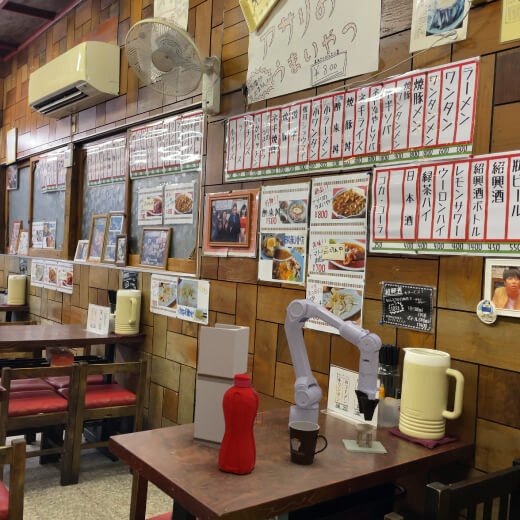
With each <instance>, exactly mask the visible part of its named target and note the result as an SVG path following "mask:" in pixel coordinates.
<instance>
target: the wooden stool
mask: <svg viewBox="0 0 520 520" xmlns="http://www.w3.org/2000/svg"><path fill="white" fill-rule="evenodd" d="M374 429H375V427H374V426H373V425H372V424H369V423H357V424H356V429H355V430H356V440H357V442H356V443H357V444H359V447H362V441H363V434H364V435H366V436H365V438H366V439H365V441H366V444H368V447H369V448H371V447H372V441H373V434H374Z"/></svg>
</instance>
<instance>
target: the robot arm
mask: <svg viewBox="0 0 520 520" xmlns="http://www.w3.org/2000/svg"><path fill="white" fill-rule="evenodd" d="M285 310H286V317H285V319H284V320H285V321H284V326H283V327H284V332H285V337H286V340H287V344H288V349H289V354H290V357H291V358H290V359H291V361H292V366H293V371H294V375H295V382H294V385H293V388H294V395H293V400H294V403H295V405H290V407H289V418H288V424H287V425H288V426H287V428H288V429H287V430H289V423H291V422H294V421H307V422H312V423H315V424H317V425H319V424H318V423H319V407H320V406H319V402H320V401H321V400H322V398H323V390H322V388H321V387H320V386H319V384H318V380H317V379H316V377H314V375H313V373H312V369H311V364H310V360H309V356H308V352H307V347H306V343H305V339H304V335H303V331H302V328H303V327H304V325H305V324H306V322H307V321H308V320H310V319H319V320H321V321H322V322H324V323H326V324H327V325H329V326H331V327H333V328H334V329H336V330H338V332H339V335H340V337H342V338H344V339H345V340H347V342H350V343H352V344H353V345H354V346H356V347H357V348H358V351H360V356H359V364H358V365H359V366H358V369H359V370H358V378H357V379H358V380H357V381H358V384H357V387H356V389H354V393H355V395H356V399H357V405H358V412H359V414H361V415H362V414H363V419H364V421H365V422H372V421H373V418H374V414H375V412H376V408H377V407H378V405H379V403H380V402H381V401H380V399H379V398H376V396H377V395H376V394H377V392H381V388H380V387H378V373H379V361H380V359H379V355H380V354H379V353H380V349H381V348H382V345H383V344H382V340H381V339H382V338H381V337H380V336H378V335H377V334H376V333H373V332H372V333H371V332H370V330H369V329H364V328H363V327H361V326H359V325H358V324H357V323H358V322H356V321H355V320H345V321H344V320H343V319H342V318H340V317H338V316H337V315H336V314H334V313H333V312H331V311H330V310H329V309H327V308H325V307H324V306H323V305H322V304H321V303H318V302H316V301H315V300H312V299H311V298H303V299H294V300H293V299H292V300H291V301H290V303H289V304H288V306H287V307H286V308H285ZM318 435H320V434H319V433H318Z"/></svg>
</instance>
